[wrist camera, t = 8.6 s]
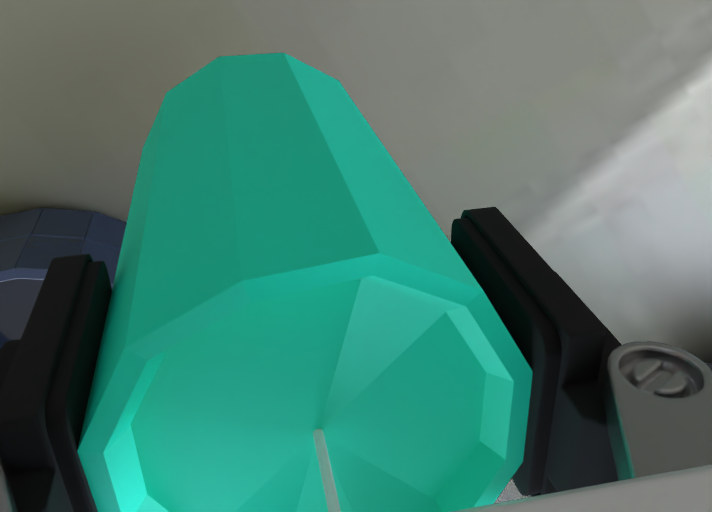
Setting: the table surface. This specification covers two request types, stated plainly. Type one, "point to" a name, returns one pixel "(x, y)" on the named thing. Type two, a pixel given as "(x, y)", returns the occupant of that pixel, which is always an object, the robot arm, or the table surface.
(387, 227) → the candle
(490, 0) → the table surface
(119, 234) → the basin
